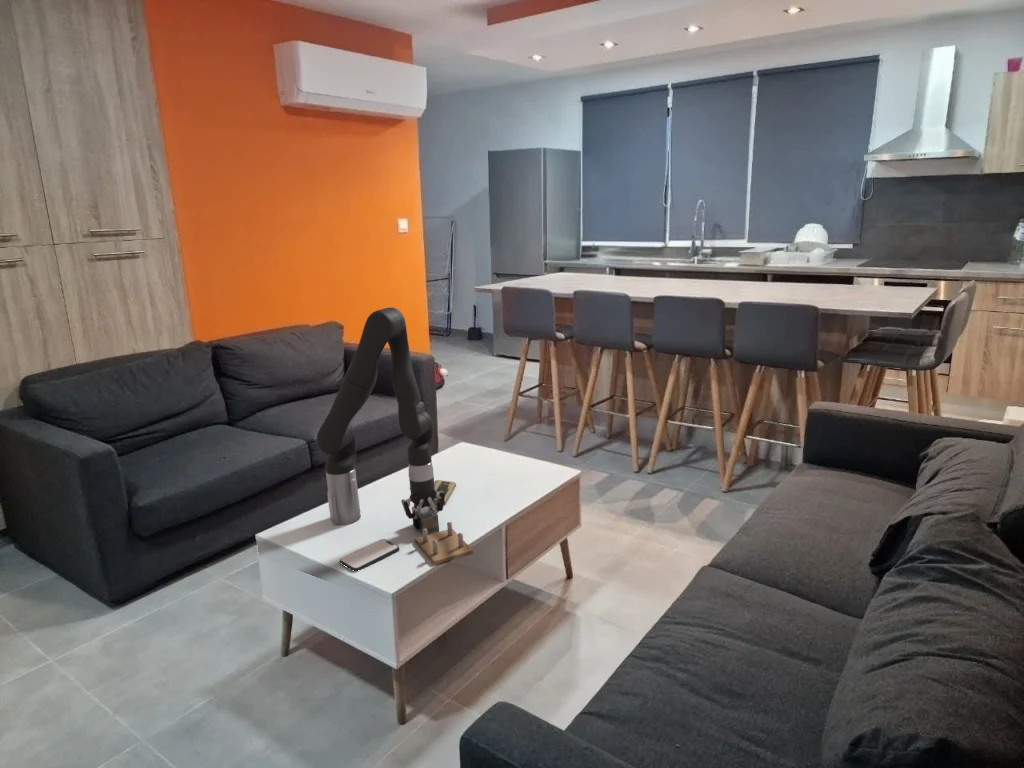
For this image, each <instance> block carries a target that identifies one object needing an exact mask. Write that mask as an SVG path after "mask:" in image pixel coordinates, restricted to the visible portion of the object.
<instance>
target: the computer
mask: <svg viewBox="0 0 1024 768" xmlns="http://www.w3.org/2000/svg"><path fill="white" fill-rule="evenodd" d="M434 485H435V491H436V492H439V491H440V490H441V491H443V492H444V493H445V499H444V505H443V506H446V504H447V502H448V501H449V499H450V498H451V496H452V494H453V492H454V491H455V490H456V489H455V488H456V487H457V483H456V482H455V481H448V480H442V479H436V480H435V479H434ZM437 501H438V498H437V495H436V497H435V499H434V501H433V503H434V505H435V506H437Z"/></svg>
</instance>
